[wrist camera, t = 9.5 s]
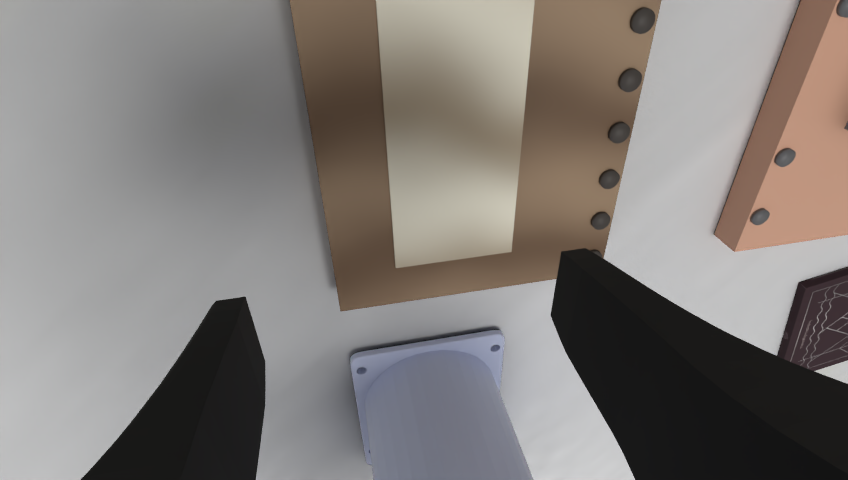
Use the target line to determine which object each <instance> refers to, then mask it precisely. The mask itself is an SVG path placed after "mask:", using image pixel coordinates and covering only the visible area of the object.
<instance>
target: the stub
mask: <svg viewBox="0 0 848 480" xmlns="http://www.w3.org/2000/svg"><path fill="white" fill-rule="evenodd" d="M714 235H715V236H716V237H717V238H719V239H720V240H721V241H722V242H723V243H725V244H726V245H727V246H728V247H729V248H730V249H732V250H733V251H734V252H737V251H743V250H750V249H756V248H763V247H770V246H776V245H783V244H789V243H796V242H803V241H809V240H816V239H822V238H829V237H836V236H842V235H848V0H801V2H800V4H799V7H798V10H797V13H796V15H795V18H794V21H793V23H792V26H791V29H790V31H789V34H788V37H787V40H786V42H785V45H784V48H783V50H782V53H781V56H780V58H779V61H778V64H777V67H776V69H775V72H774V75H773V77H772V80H771V83H770V85H769V88H768V91H767V93H766V96H765V99H764V102H763V104H762V107H761V110H760V112H759V115H758V118H757V120H756V123H755V126H754V129H753V131H752V134H751V137H750V139H749V142H748V145H747V147H746V150H745V153H744V155H743V158H742V161H741V164H740V166H739V169H738V172H737V174H736V177H735V180H734V182H733V185H732V188H731V191H730V193H729V196H728V199H727V201H726V204H725V207H724V209H723V212H722V215H721V217H720V220H719V223H718V226H717V228H716V231H715V234H714Z"/></svg>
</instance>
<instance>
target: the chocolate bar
mask: <svg viewBox="0 0 848 480" xmlns="http://www.w3.org/2000/svg"><path fill="white" fill-rule="evenodd" d="M777 356H778V357H780V358H782V359H785V360H787V361H790V362H792V363H795V364H797V365H800V366H802V367H804V368H807V369H809V370H812V371H816V370H819V369H822V368H825V367H828V366H831V365H834V364H837V363H841V362H844V361H847V360H848V267H846V268H842V269H839V270H836V271H833V272H830V273H827V274H824V275H821V276H817V277H814V278H811V279H808V280H805V281H802V282H799V283H798V287H797V290H796V294H795V297H794V300H793V304H792V307H791V311H790V314H789V318H788V321H787V324H786V328H785V331H784V335H783V338H782V341H781V345H780V348H779V352H778V355H777Z"/></svg>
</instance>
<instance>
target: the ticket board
mask: <svg viewBox="0 0 848 480" xmlns="http://www.w3.org/2000/svg"><path fill="white" fill-rule="evenodd" d="M660 4H661V0H290V6H291V12H292V18H293V24H294V30H295V36H296V42H297V48H298V54H299V60H300V67H301V73H302V79H303V85H304V91H305V97H306V103H307V109H308V115H309V121H310V128H311V134H312V140H313V146H314V152H315V158H316V164H317V170H318V176H319V182H320V189H321V195H322V201H323V207H324V213H325V219H326V225H327V231H328V237H329V243H330V250H331V256H332V262H333V268H334V274H335V280H336V286H337V292H338V298H339V305H340V311H347V310H353V309H360V308H367V307H373V306H380V305H386V304H393V303H400V302H406V301H413V300H420V299H426V298H433V297H439V296H446V295H453V294H459V293H466V292H472V291H479V290H486V289H492V288H499V287H505V286H512V285H519V284H525V283H532V282H538V281H545V280H552V279H557V274H558V268H559V262H560V256H561V251H568V250H575V249H582V248H586V249H588V250H590V251H592V252H593V253H595V254H597V255H598V256H600V257H601V258H604V253H605V249H606V244H607V240H608V235H609V231H610V227H611V222H612V218H613V213H614V209H615V204H616V200H617V195H618V191H619V187H620V182H621V178H622V173H623V169H624V164H625V160H626V155H627V151H628V146H629V142H630V138H631V133H632V129H633V124H634V120H635V115H636V111H637V106H638V102H639V98H640V93H641V89H642V84H643V80H644V75H645V71H646V66H647V62H648V58H649V53H650V49H651V44H652V40H653V35H654V31H655V26H656V22H657V17H658V13H659V9H660Z"/></svg>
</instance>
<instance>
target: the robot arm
mask: <svg viewBox="0 0 848 480" xmlns="http://www.w3.org/2000/svg"><path fill="white" fill-rule="evenodd" d="M551 317H552V320H553V322H554V325H555V327H556V330H557V332H558V335H559V337H560V340H561V342H562V344H563V347H564V349H565V351H566V353H567V355H568V357H569V359H570V360H571V362H572V364H573V366H574V367H575V369H576V371H577V373H578V374H579V376H580V378H581V380H582V381H583V383H584V385H585V387H586V388H587V390H588V392H589V393H590V395H591V397H592V398H593V400H594V402H595V404H596V405H597V407H598V409H599V410H600V412H601V414H602V416H603V417H604V419H605V421H606V422H607V424H608V426H609V428H610V429H611V431H612V433H613V435H614V436H615V438H616V440H617V442H618V444H619V446H620V448H621V450H622V452H623V454H624V456H625V458H626V460H627V462H628V465H629V467H630V469H631V471H632V473H633V476H634V478H635V480H848V384H846V383H843V382H841V381H838V380H835V379H833V378H830V377H827V376H824V375H822V374H819V373H817V372H814V371H812V370H809V369H807V368H804V367H802V366H800V365H797V364H795V363H792V362H790V361H787V360H785V359H782V358H780V357H778V356H776V355H773V354H771V353H769V352H766V351H764V350H762V349H760V348H758V347H756V346H754V345H752V344H749V343H747V342H745V341H743V340H741V339H739V338H737V337H735V336H733V335H731V334H729V333H727V332H725V331H723V330H721V329H719V328H717V327H715V326H713V325H711V324H709V323H708V322H706V321H704V320H702V319H701V318H699V317H697V316H695V315H693V314H692V313H690V312H688V311H686V310H684V309H683V308H681V307H679V306H678V305H676V304H674V303H673V302H671V301H669V300H668V299H666V298H664V297H663V296H661V295H659V294H658V293H656V292H655V291H653V290H651V289H650V288H648V287H647V286H645V285H643V284H642V283H640V282H639V281H637V280H636V279H634V278H632V277H631V276H629V275H628V274H626V273H625V272H623V271H622V270H620V269H619V268H617V267H615V266H614V265H612V264H611V263H609V262H608V261H606V260H605V259H603V258H601V257H600V256H598V255H597V254H595V253H593V252H592V251H590V250H588V249H586V248H582V249H575V250H568V251H561V256H560V262H559V268H558V274H557V280H556V286H555V292H554V299H553V305H552V311H551ZM504 341H505V338H504V335H503V333H502V332H501V331H499V330H491V331H484V332H478V333H472V334H466V335H460V336H454V337H448V338H442V339H436V340H429V341H423V342H417V343H411V344H405V345H399V346H393V347H387V348H381V349H374V350H368V351H362V352H357V353H355V354H353V355H352V356H351V358H350V366H351V372H352V378H353V384H354V390H355V397H356V403H357V409H358V415H359V421H360V427H361V434H362V440H363V446H364V452H365V458H366V462H367V464H369V465H372V471H373V479H374V480H533V477H532V475H531V472H530V470H529V467H528V464H527V462H526V459H525V457H524V454H523V452H522V449H521V446H520V444H519V441H518V439H517V436H516V434H515V431H514V428H513V426H512V423H511V421H510V418H509V416H508V413H507V411H506V408H505V405H504V403H503V400H502V398H501V395H500V384H501V373H502V363H503V352H504ZM493 345H495V346H493ZM361 367H364V368H361ZM264 409H265V359H264V356H263V353H262V350H261V346H260V343H259V340H258V336H257V333H256V330H255V327H254V323H253V320H252V317H251V313H250V310H249V307H248V304H247V300H246V297H240V298H233V299H226V300H219V301H216V302H215V303H214V304H213V305H212V307H211V308H210V310H209V311H208V313H207V315H206V316H205V318H204V319H203V321H202V323H201V324H200V326H199V327H198V329H197V331H196V332H195V334H194V335H193V337H192V338H191V340H190V341H189V343H188V344H187V346H186V347H185V349H184V351H183V352H182V354H181V355H180V356H179V358H178V359H177V361H176V362H175V364H174V365H173V367H172V368H171V369H170V371H169V372H168V374H167V375H166V377H165V378H164V380H163V381H162V382H161V384H160V385H159V386H158V388H157V389H156V390H155V392H154V393H153V394H152V396H151V397H150V398H149V400H148V401H147V402H146V404H145V405H144V406H143V407H142V409H141V410H140V411H139V413H138V414H137V415H136V417H135V418H134V419H133V420H132V422H131V423H130V424H129V425H128V427H127V428H126V429H125V430H124V431H123V433H122V434H121V435H120V436H119V438H118V439H117V440H116V441H115V442H114V443H113V445H112V446H111V447H110V448H109V449H108V450H107V451H106V453H105V454H104V455H103V456H102V457H101V458H100V459H99V460H98V462H97V463H96V464H95V465H94V466H93V467H92V468H91V469H90V470H89V471H88V473H87V474H86V475H85V476H84V477H83V478H82V479H81V480H256V472H257V465H258V457H259V449H260V442H261V434H262V426H263V418H264Z"/></svg>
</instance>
